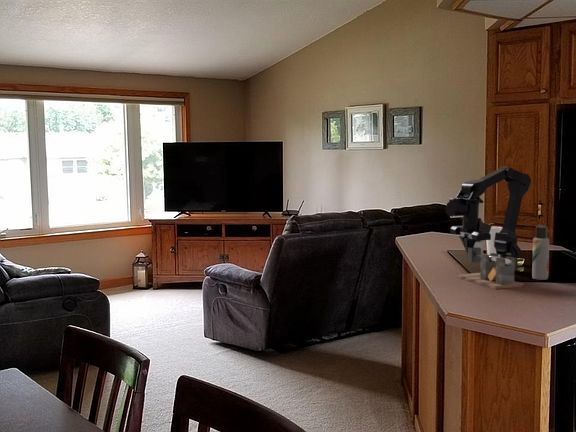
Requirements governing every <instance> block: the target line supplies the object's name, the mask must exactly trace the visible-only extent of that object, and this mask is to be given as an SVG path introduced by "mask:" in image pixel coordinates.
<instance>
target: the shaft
mask: <svg viewBox="0 0 576 432" xmlns="http://www.w3.org/2000/svg"><path fill="white" fill-rule="evenodd" d="M481 254H485V253H484V252H483V253H481V247H468V255H467V262H468V263H481ZM486 254H487V253H486ZM487 255H488V254H487ZM496 258H499V257H497V256H493V255H489V260H490V261H494V262H496ZM500 258H501V257H500ZM504 259H505V258H504ZM511 263H512V261H511V260H509V259H505V264H506V265H511Z"/></svg>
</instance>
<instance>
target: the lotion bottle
mask: <svg viewBox="0 0 576 432" xmlns="http://www.w3.org/2000/svg"><path fill="white" fill-rule="evenodd" d="M549 264H550V239H549V238H548V226H546V225H542V224H539V225H536V226H535V237H534V238H532V268H531V276H532V277H531V278H532V279H534V280H539V281H540V280H541V281H543V280H548V279H549Z"/></svg>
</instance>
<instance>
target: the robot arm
mask: <svg viewBox="0 0 576 432" xmlns="http://www.w3.org/2000/svg"><path fill="white" fill-rule="evenodd" d="M502 181H504V182H506V183H507V190H508V193H509V196H508V201H507V205H506V211H505V215H504V220H503V223H502V230H501V231H500V232H499V233H498V232H496V234H495V239H494V241H493V242H494V247H495V249H496V253H497V254H499V255H500V257H501V258H505V259H506V257H513V258H515V269H514V273H516V272H521V269H518V264H519V263H518V261H519V260H518V259H519V258H520V257H522V254H523V250H522V249H521V248H520V247H519V246H518V236H517V233H516V229H517V223H518V219H519V215H520V211H521V206H522V201H523V198H524V196H525V194H527V192H528V191H529V189H530V187H531V183H532V178H531V177H530V175H529V174H528V173H524V172H521V171H519V170H516V169H514V168H512V167H510V166H500V167H499V168H498V169H496V170H494V171H492V172H491V173H488V174H486V175H485V176H483V177H480V178H479V179H474V180H473V179H471V180H469V181H465V182H462V184H461V187H460V189H459V191H458V193H457V194H456V196H455V198H453V197H451V198H449V199H448V200H449V201H448V202H447V203H446V206H445V213H446V215H447V216H449V217H460V220H461V221H462V225H452V226H451V227H450V231H449V233H450V234H452V235H456V234H459V233H460V235H459V236H458V238H459V239H460V241H461V243H462V245H463V247H464V250H465V252H466V255H467V256H468V247H474V245H475V243H476V242H477V241H481V240H484V241H486V240H491V234H490V230H491V227H492V226H493V225H492V224H490V225H489V223H485V222H483V220H482V218H481V217H479V213H480V212H479V211H480V208H479V207H480V204H484V200H483V199H481V196H482V195H483V194H484V193H486V190H487V189H489V188H491V187H493V186H494V185H497V184H498V183H500V182H502Z"/></svg>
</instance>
